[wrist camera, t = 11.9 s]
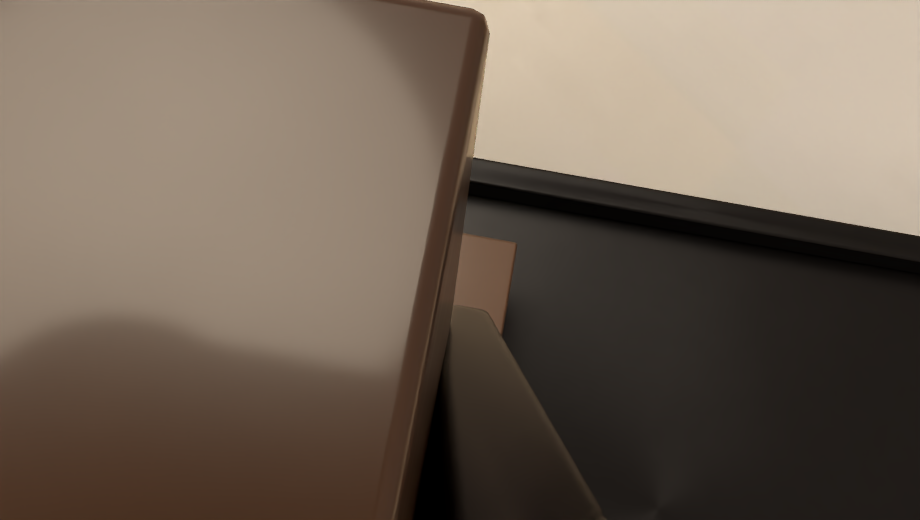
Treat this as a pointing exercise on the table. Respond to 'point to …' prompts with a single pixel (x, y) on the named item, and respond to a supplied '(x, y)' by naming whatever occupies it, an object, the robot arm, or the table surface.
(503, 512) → the robot arm
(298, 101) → the scrub brush
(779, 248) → the griddle
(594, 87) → the table surface
